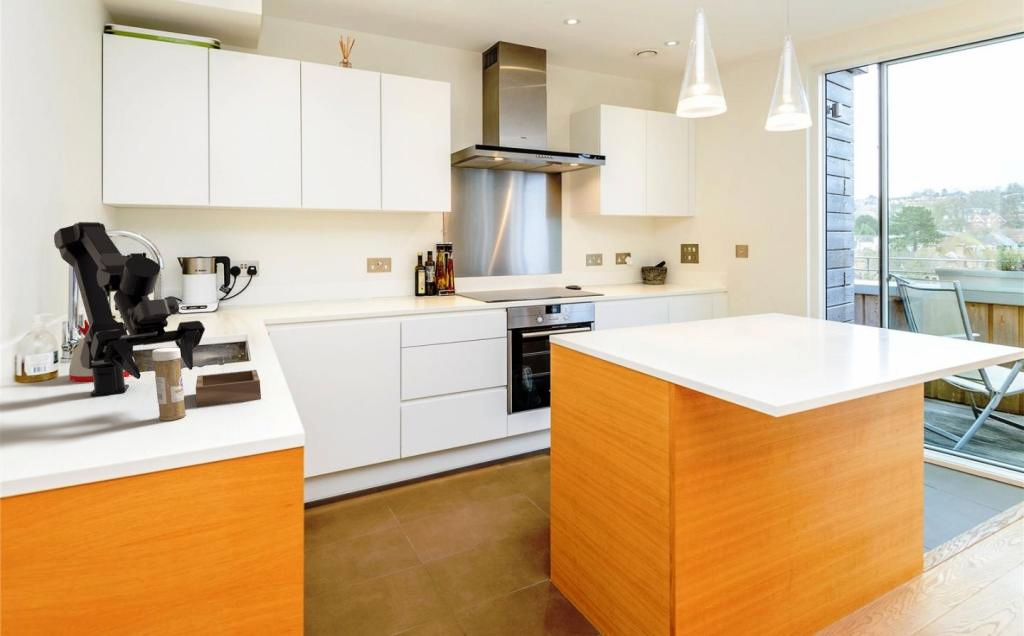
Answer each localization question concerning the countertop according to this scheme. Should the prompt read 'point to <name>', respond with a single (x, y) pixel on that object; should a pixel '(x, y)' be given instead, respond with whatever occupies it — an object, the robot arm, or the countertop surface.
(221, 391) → the walnut crate
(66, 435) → the countertop surface
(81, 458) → the countertop surface
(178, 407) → the sprinkles bottle
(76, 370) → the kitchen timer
